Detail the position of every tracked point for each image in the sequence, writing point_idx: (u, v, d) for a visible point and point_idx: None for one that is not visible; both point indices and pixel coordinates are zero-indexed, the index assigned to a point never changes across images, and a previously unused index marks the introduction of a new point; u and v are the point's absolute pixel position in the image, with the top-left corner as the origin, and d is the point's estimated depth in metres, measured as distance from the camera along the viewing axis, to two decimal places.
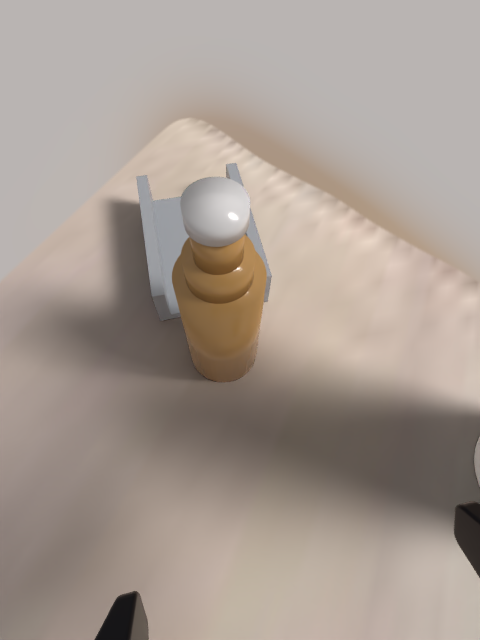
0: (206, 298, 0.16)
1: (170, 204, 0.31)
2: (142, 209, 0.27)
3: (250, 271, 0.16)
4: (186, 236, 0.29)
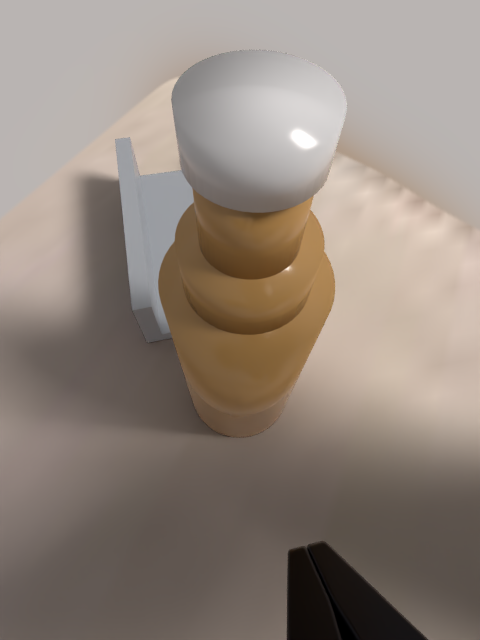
0: (225, 325, 0.08)
1: (163, 180, 0.23)
2: (122, 183, 0.19)
3: (315, 272, 0.08)
4: None
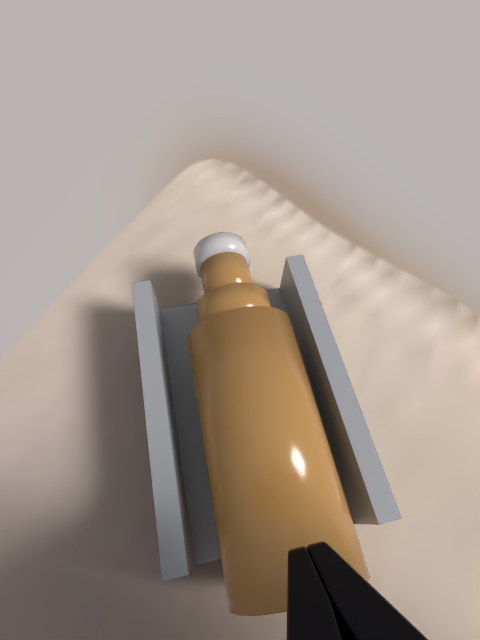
0: (219, 313, 0.14)
1: (188, 316, 0.18)
2: (142, 354, 0.15)
3: (261, 289, 0.15)
4: None
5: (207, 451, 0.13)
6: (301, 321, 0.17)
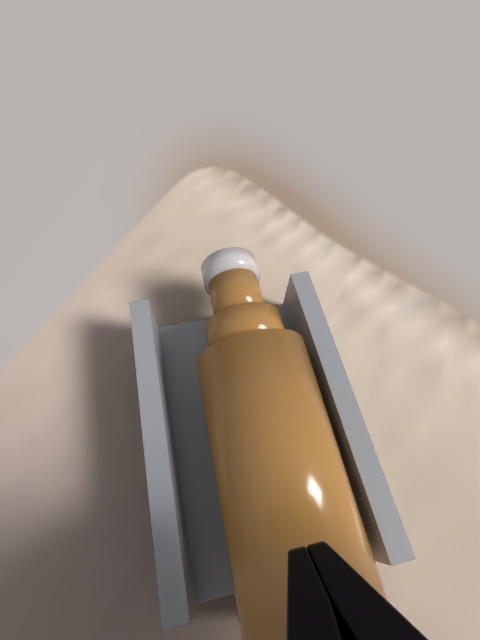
0: (236, 333, 0.14)
1: (188, 334, 0.18)
2: (140, 380, 0.14)
3: (276, 310, 0.15)
4: None
5: (224, 482, 0.12)
6: (306, 341, 0.16)
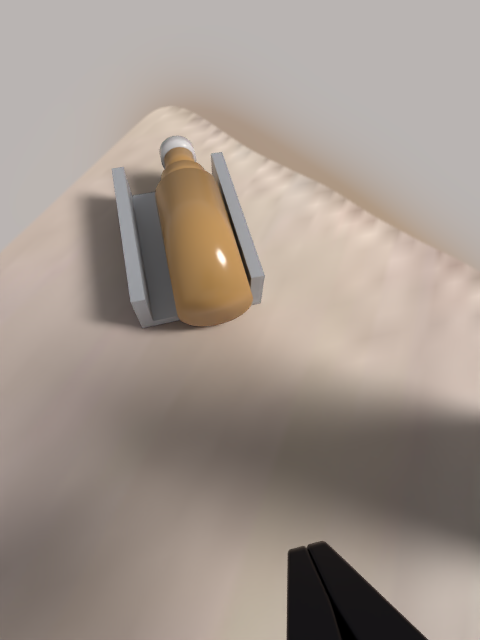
0: None
1: (151, 199, 0.28)
2: (119, 204, 0.24)
3: (204, 170, 0.25)
4: None
5: (168, 237, 0.22)
6: None
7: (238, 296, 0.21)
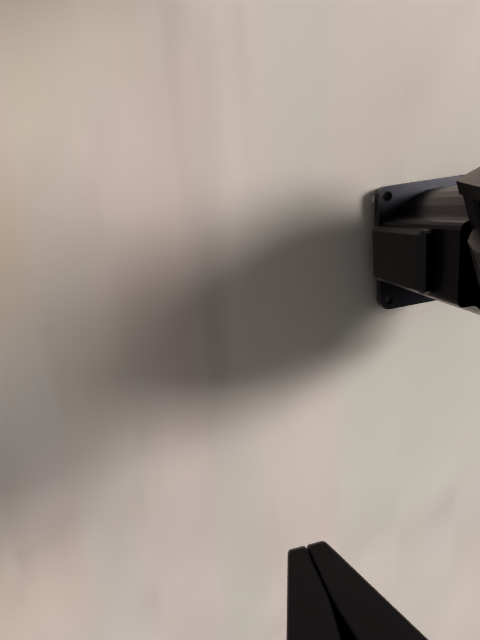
0: None
1: None
2: None
3: None
4: None
5: None
6: None
7: None
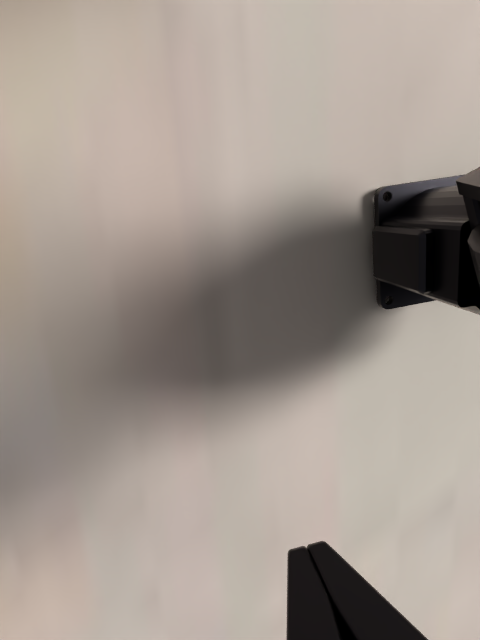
0: None
1: None
2: None
3: None
4: None
5: None
6: None
7: None
